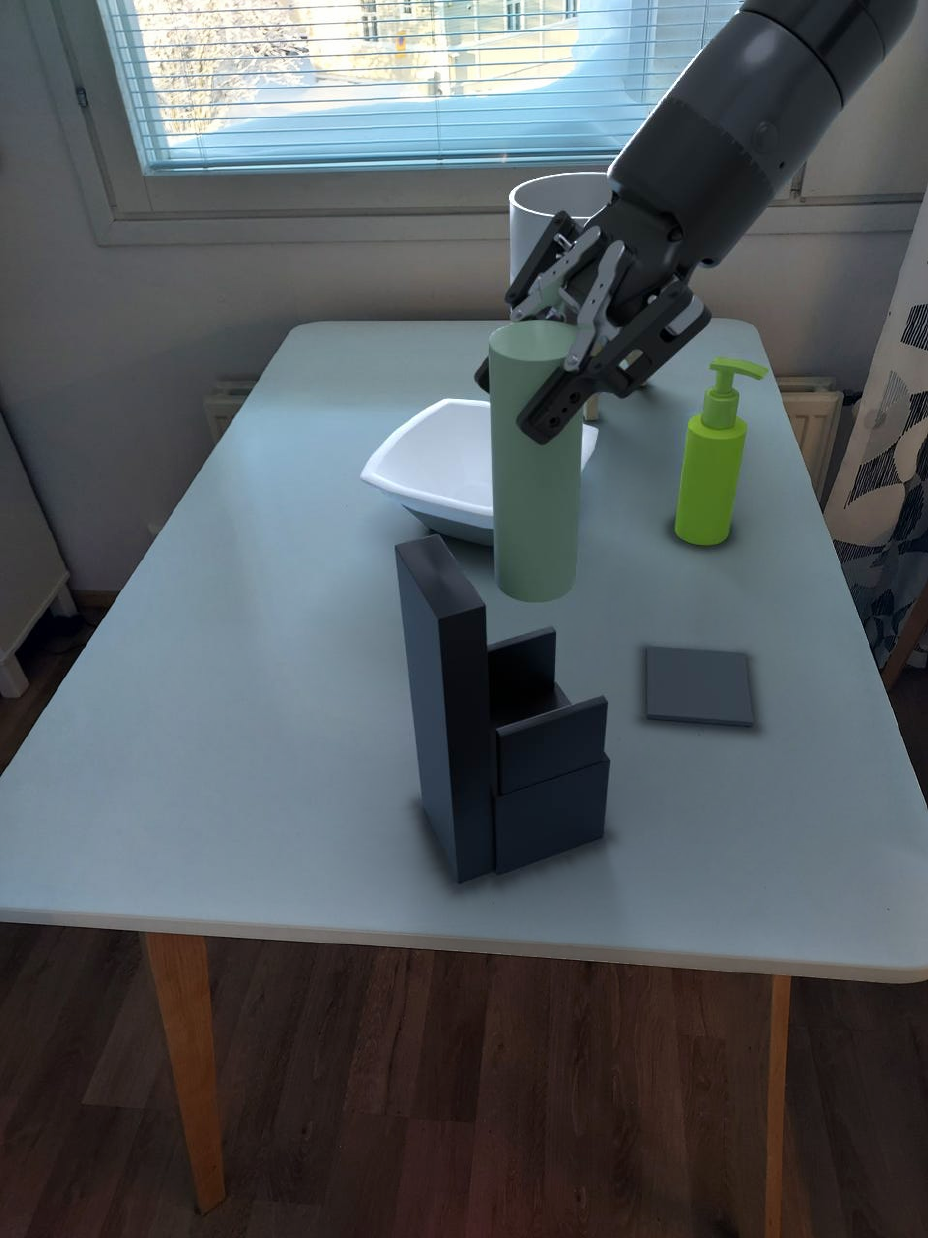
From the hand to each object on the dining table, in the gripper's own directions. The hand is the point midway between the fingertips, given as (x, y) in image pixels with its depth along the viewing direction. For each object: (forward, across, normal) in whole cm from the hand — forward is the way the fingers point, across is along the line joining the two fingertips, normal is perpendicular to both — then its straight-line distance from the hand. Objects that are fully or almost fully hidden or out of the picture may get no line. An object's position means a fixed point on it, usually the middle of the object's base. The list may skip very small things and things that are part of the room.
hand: (506, 410), depth 51 cm
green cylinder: (+7, 0, -10) cm, 12 cm away
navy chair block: (+25, 0, -25) cm, 36 cm away
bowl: (+15, +41, -36) cm, 56 cm away
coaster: (+10, +7, -40) cm, 42 cm away
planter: (-2, +65, -53) cm, 84 cm away
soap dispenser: (0, +27, -50) cm, 57 cm away
